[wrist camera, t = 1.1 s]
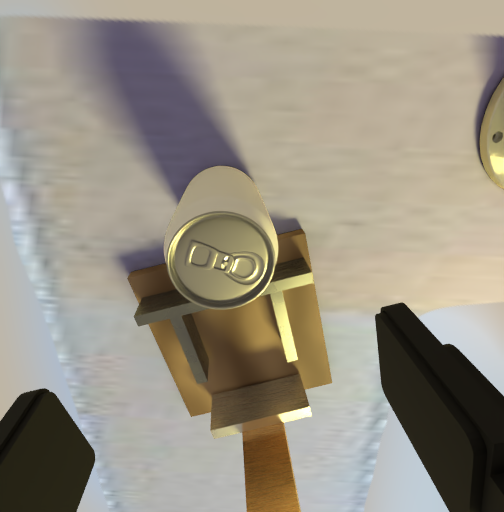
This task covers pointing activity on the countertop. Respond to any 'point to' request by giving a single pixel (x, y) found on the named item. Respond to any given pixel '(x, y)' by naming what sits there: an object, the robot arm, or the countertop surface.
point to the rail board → (243, 336)
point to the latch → (264, 438)
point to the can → (221, 241)
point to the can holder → (182, 309)
